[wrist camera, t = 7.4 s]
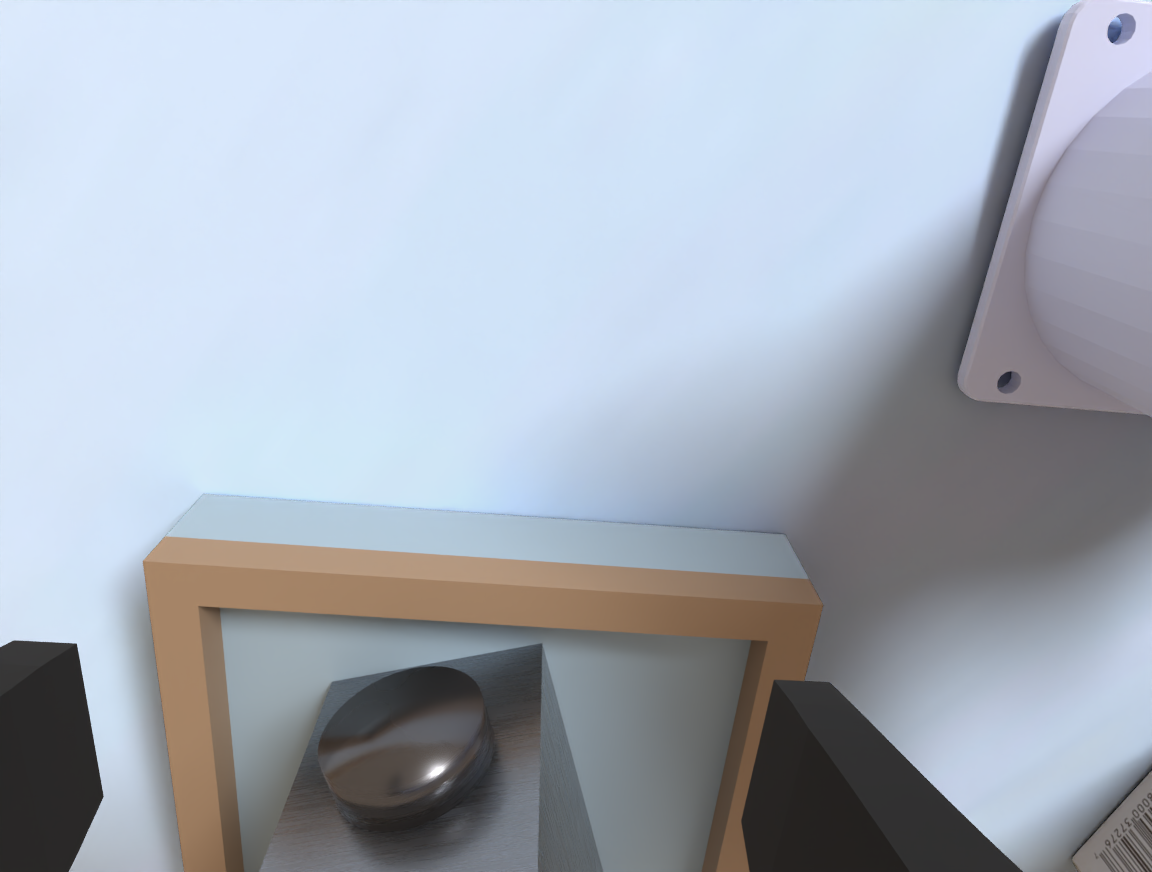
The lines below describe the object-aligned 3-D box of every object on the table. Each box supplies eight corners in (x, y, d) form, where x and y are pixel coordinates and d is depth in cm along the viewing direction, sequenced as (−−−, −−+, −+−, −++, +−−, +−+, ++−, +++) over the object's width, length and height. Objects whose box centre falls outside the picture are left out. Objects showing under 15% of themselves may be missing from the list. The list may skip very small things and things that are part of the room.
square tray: (785, 534, 20) (823, 605, 17) (698, 924, 25) (717, 1026, 22) (203, 493, 19) (142, 560, 16) (242, 906, 24) (202, 1010, 21)
